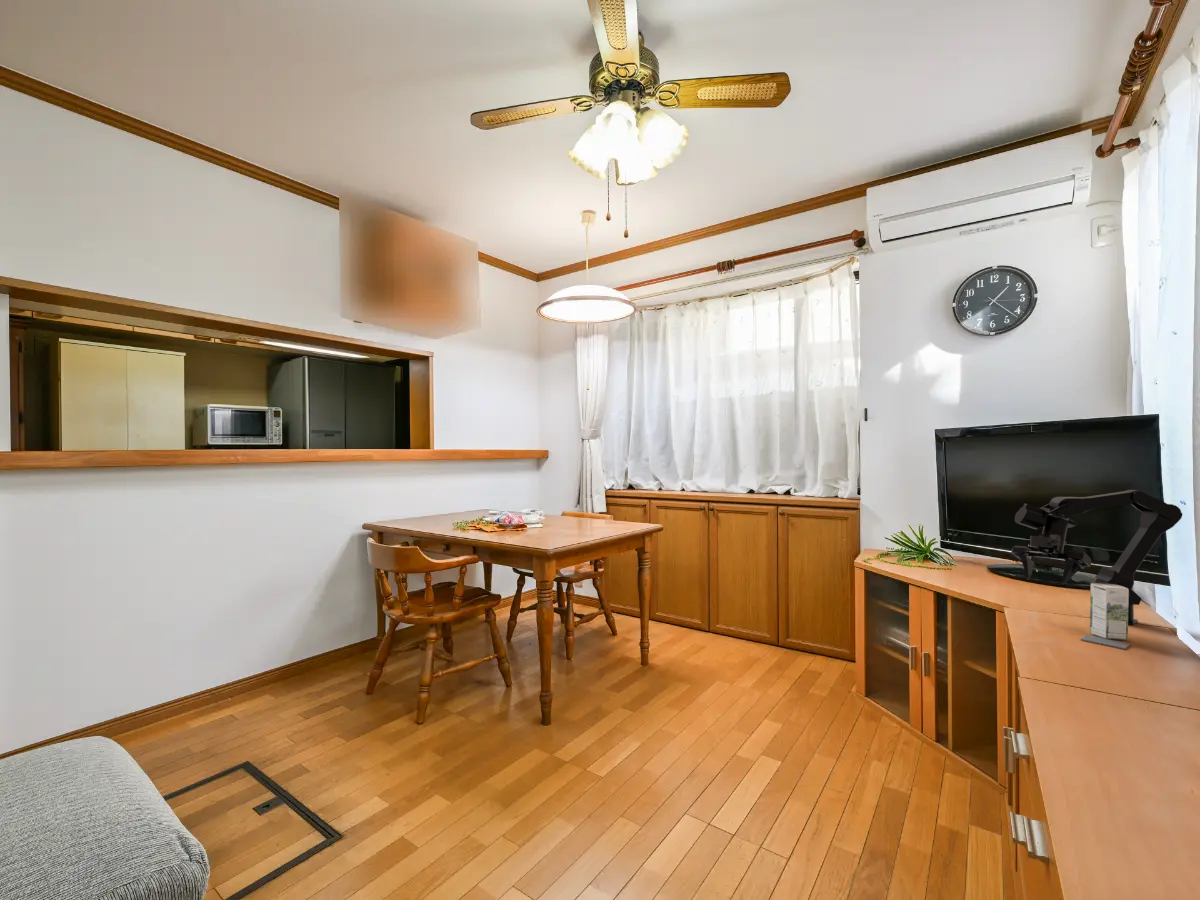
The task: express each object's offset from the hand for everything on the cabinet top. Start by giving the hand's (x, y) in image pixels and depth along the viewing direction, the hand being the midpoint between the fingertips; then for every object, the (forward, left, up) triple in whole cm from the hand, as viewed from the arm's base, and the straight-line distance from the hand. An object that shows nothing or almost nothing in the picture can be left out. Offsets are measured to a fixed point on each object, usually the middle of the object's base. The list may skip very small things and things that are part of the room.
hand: (1044, 581), depth 166 cm
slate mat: (+10, +16, -12) cm, 22 cm away
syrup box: (+3, +15, -12) cm, 20 cm away
